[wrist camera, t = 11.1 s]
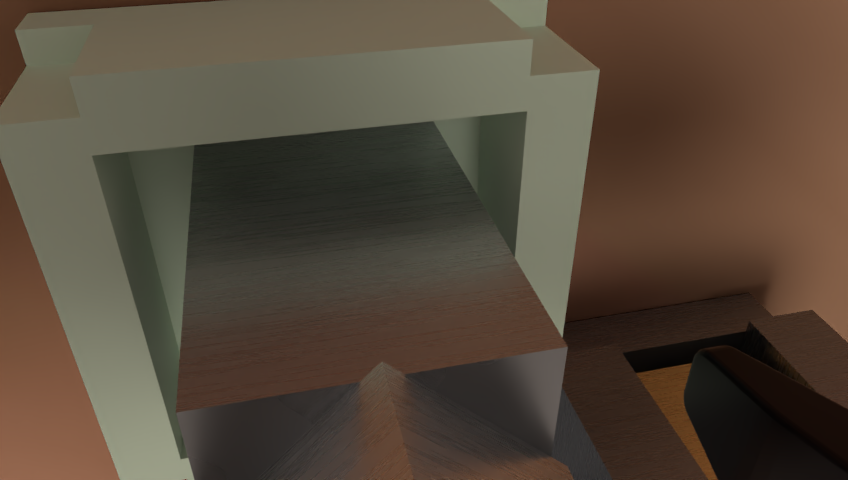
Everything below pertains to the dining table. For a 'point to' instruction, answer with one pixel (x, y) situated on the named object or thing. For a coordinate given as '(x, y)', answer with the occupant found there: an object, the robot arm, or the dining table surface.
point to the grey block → (358, 318)
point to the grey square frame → (253, 119)
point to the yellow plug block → (676, 408)
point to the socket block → (666, 347)
